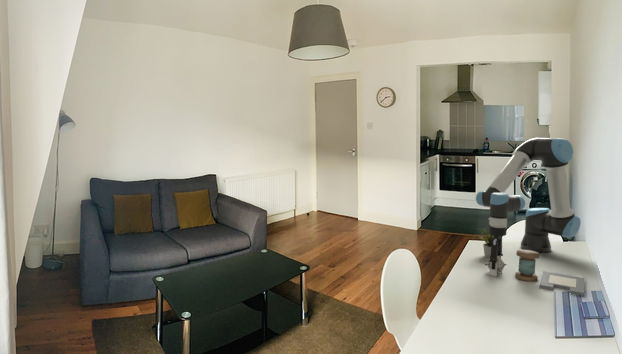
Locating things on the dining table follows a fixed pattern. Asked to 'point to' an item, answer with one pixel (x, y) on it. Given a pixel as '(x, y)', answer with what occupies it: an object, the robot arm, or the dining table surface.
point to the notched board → (562, 282)
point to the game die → (499, 264)
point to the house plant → (487, 243)
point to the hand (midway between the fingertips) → (495, 272)
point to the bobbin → (527, 265)
